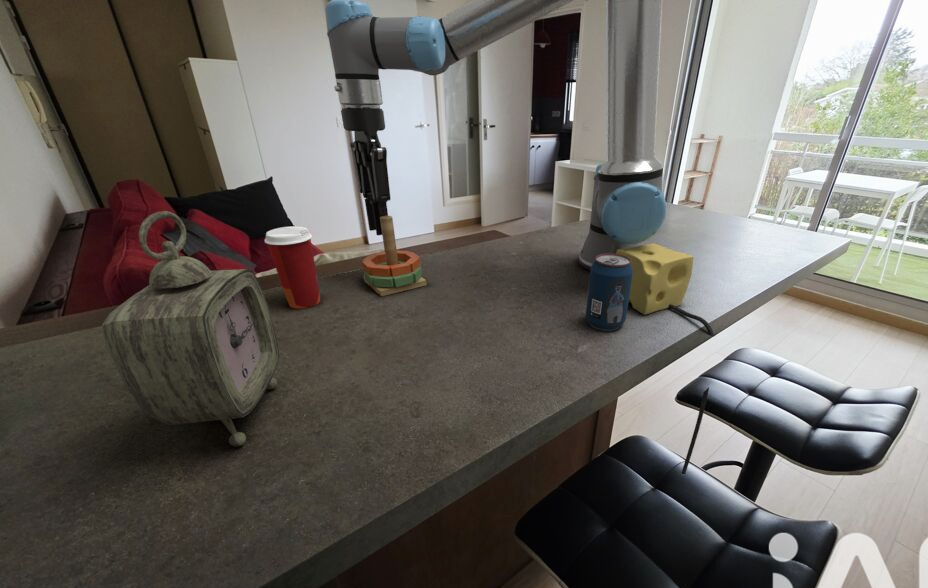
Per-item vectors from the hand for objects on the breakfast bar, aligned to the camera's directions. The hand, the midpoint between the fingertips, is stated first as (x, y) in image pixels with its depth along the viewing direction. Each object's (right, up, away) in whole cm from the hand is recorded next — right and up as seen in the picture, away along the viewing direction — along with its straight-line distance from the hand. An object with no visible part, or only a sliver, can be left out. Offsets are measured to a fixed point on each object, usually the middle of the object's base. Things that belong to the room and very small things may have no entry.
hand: (379, 231), depth 88 cm
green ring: (+3, -10, +1) cm, 10 cm away
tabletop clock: (-6, -31, -36) cm, 49 cm away
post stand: (+3, -11, +1) cm, 11 cm away
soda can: (+45, -20, -14) cm, 51 cm away
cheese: (+55, -15, -5) cm, 57 cm away
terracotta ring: (+2, -7, +1) cm, 8 cm away
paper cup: (-12, -16, -7) cm, 21 cm away
